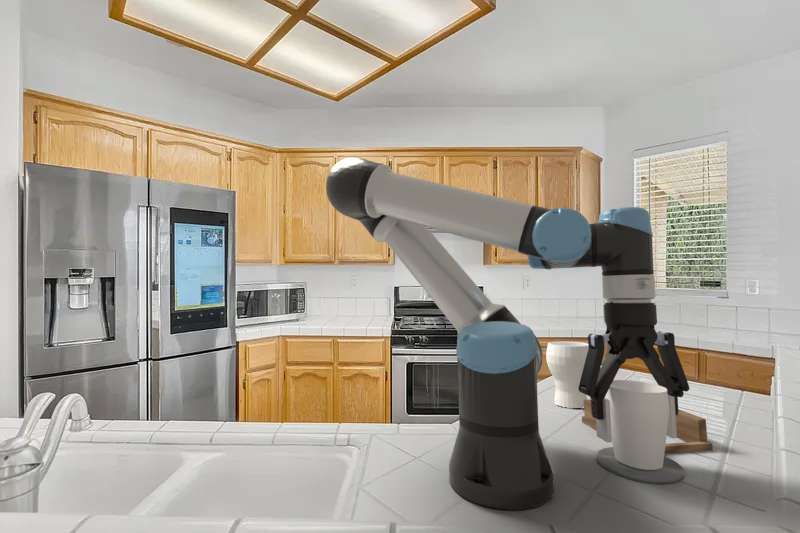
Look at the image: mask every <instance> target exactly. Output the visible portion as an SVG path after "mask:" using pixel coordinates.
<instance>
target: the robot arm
mask: <svg viewBox="0 0 800 533" xmlns="http://www.w3.org/2000/svg"><path fill="white" fill-rule="evenodd" d="M325 190H326V197H327V199H328V201H329V203H330V205H331V206H332V207H333V208H334V210H336V212H339V213H340V214H342V215H344V216H345V217H348V218H351V219H353V220H356V221H359V222H360V224H362V226H363V227H364V228H365V229H366V230H367V232H368V233H369V234H370V235H371V237H372V238H373V239H374V240H375V241H376V242H378V243H386V244H387V245H388V247H389V248H390V249H391V250H392V251H393V253H394V254H395V255H396V256H397V257H398V259H399V260H400V261H401V263H402V264H403V265H404V266H405V268H406V269H407V270H408V271H409V273H410V274H411V275H412V276H413V278H414V279H415V280H416V281H417V283H418V284H419V286H421V287H422V289H423V290H424V291H425V293H426V294H427V295H428V296H429V297H430V299H431V300H432V301H433V303H434V304H435V305H436V307H438V309H440V311H441V312H442V314H443V315H444V316H445V318H446V319H447V320H448V321H449V322H450V324H451V325H452V326H453V327H454V329H455V330H456V331H457V332H456V333H457V339H456V342H457V343H456V344H457V345H456V347H455V351H456V354H455V355H456V357H457V381H458V382H457V383H458V384H457V385H458V387H457V388H458V413H459V414H458V416H459V420H458V421H459V424H458V425H459V427H458V431H457V435H456V438H455V441H454V446H453V449H452V452H451V455H450V459H449V464H448V474H449V475H448V476H449V477H448V480H449V481H448V482H449V483H450V486H451V487H452V489H453V491H455V492H456V493H457V494H458V495H459V496H461V497H462V498H464V499H466V500H469V501H470V502H472V503H475V504H477V505H480V506H484V507H489V508H492V509H493V508H494V509H500V510H510V511H511V510H512V511H513V510H516V511H517V510H526V509H531V508H536V507H539V506H541V505H544V504H546V503H548V502H549V501H550V500H551V498H553V495H554V492H555V484H554V483H555V478H554V472H553V469H552V466H551V463H550V460H549V458H548V454H547V451H546V449H545V446H544V443H543V441H542V438H541V435H540V429H539V428H540V427H539V405H538V404H539V401H538V376H539V373H540V371H541V368H542V365H543V349H542V346H541V344H540V340H539V339H538V337H537V336H536V334H535V333H534V331H533V330H532V329H531V327H530V326H528V325H525V324H522V323H521V322H520V321H519V320H518V319H517V318H516V316H514V314H513V313H512V312H511V311H510V310H509V309H508V307H507V306H506V305H505V304H500V303H499V304H498V303H493V302H492V301H491V300H490V299H489V298H488V296H487V295H486V294H485V293H484V292H483V291H482V289H480V287H479V286H478V285H477V284H476V282H475V281H473V279H472V278H471V276H469V274H468V273H467V272H466V271H465V270H464V269H463V267H461V265H460V264H459V263H458V262H457V261H456V260H455V258H454V257H453V256H452V255H451V254H450V253H449V251H448V250H447V249H446V248H445V247H444V246H443V245H442V243H441V242H440V241H439V240H438V239H437V238H436V237H437V236H435V235H434V234H433V232H431V230H430V229H434V230H437V231H441V232H444V233H448V234H451V235H455V236H458V237H462V238H465V239H468V240H473V241H477V242H478V243H479V242H480V243H484V244H488V245H491V246H494V247H497V248H501V249H505V250H509V251H512V252H515V253H519V254H522V255H525V256H527V262H528V265H529V267H530V268H532V269H533V270H534V269H536V270H541V269H542V270H552V269H571V268H589V267H590V268H596V267H601V270H602V272H601V275H602V276H601V279H602V280H601V282H602V298H603V299H604V300H606V302H605V303H604V304H603V318H604V319H603V320H604V323H605V325H606V330H605V333H602V334H595V333H589V334H588V336H587V344H588V345H589V348H588V352H587V356H586V360H585V364H584V368H583V372H582V376H581V380H580V384H579V388H578V390H579V391H580V392H581V393H583V394H586V396H587V397H590V400H591V410H592V411H591V413H592V416H593V417H594V418H596V429H597V430H596V437H597V438H599V439H601V440H603V441H604V442H606V443H612V435H611V416H610V400H608V399H605V396H606V394H607V392H608V390H609V388H610V386H611V384H612V382H613V380H615V378H616V376H617V373H619V370H620V368H621V365H623V364H624V363H625V362H626V361H627V360H632V359H635V358H637V359H640V360H641V361H642V362H643V363H644V365H645V366H646V368H647V369H648V371H649V372H650V375H651V376H652V377H653V378H654V381H655V382H656V383H657V384H656V385H659V386H662V387H665V388H666V389H667V393H668V401H669V419H668V428H667V436H666V437H668V438H671V439H678V438H677V431H676V415H678V409H679V400H678V398H683V397H684V395H685V394H684V392H689V390H690V384H689V382H688V379H687V377H686V376H687V375H686V374H685V371H684V369H683V365H682V362H681V360H680V357H679V355H678V352H677V350H676V344H675V342H676V341H675V334H674V333H673V332H668V331H667V332H666V331H661V330H660V331H656V329H655V326H656V325H657V323H658V318H657V315H658V314H657V304H655V303H654V302H652V300H655V298H656V285H655V284H656V282H655V273H654V272H655V270H654V252H653V251H654V249H653V237H654V233H653V232H652V224H651V218H650V217H651V216H650V213H649V211H648V210H647V209H646V208H643V207H637V206H629V207H628V206H627V207H626V206H624V207H618V208H611V209H607V210H603V211H601V212H600V214H599V216H598V221H597V222H594V223H589V220H587V218H586V217H585V216H584V215H583V214H582V213H581V212H579V211H578V210H575V209H574V208H569V207H558V208H557V207H556V208H553V209H551V208H547V207H543V206H542V207H541V206H537V205H534V204H529V203H526V202H521V201H516V200H514V199H513V200H512V199H508V198H505V197H504V198H503V197H500V196H499V197H498V196H495V195H491V194H486V193H483V192H478V191H475V190H470V189H465V188H461V187H456V186H452V185H448V184H443V183H439V182H435V181H430V180H426V179H422V178H418V177H414V176H413V177H412V176H410V175H409V176H408V175H406V174H400V173H395V172H393V170H392V168H391V166H390V165H387V164H384V163H379V162H376V161H372V160H368V159H365V158H361V157H347V158H344V159H342V160H340V161H338V162H337V163H336V164H335V165H334V166H333V167H332V168H331V169H330V171H329V173H328V175H327V177H326V183H325ZM429 228H430V229H429ZM655 344H656V346H657V350H658V351H657V350H656V348H655V347H654V346H655ZM608 345H609V346H608ZM607 346H608V348H607V350H606V353H605V347H607ZM604 353H605V355H604ZM604 357H605V359H604V361H603V358H604ZM660 359H661V360H660Z"/></svg>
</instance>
